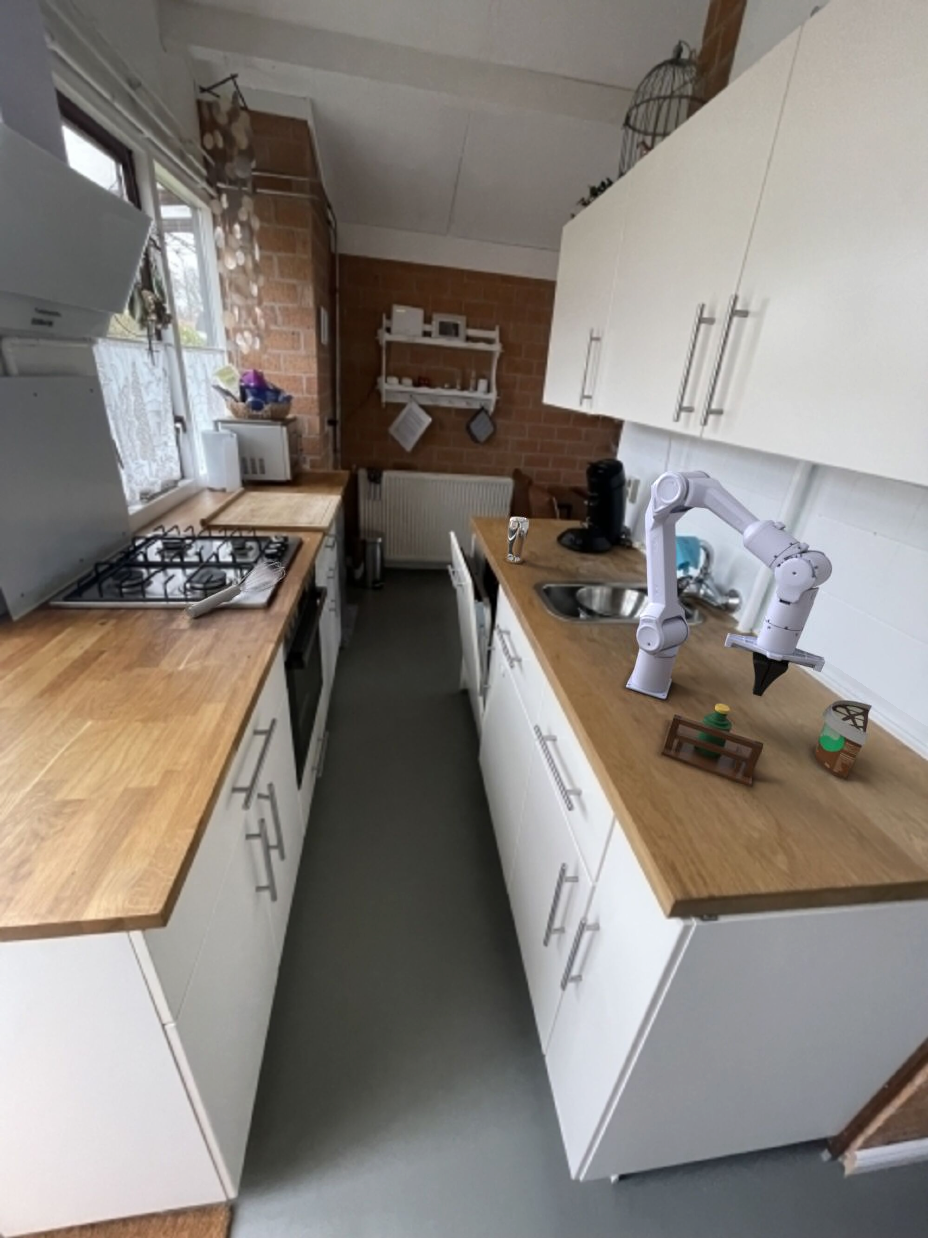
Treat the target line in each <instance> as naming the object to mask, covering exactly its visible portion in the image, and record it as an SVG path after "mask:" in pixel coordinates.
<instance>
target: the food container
mask: <svg viewBox="0 0 928 1238" xmlns="http://www.w3.org/2000/svg"><path fill="white" fill-rule="evenodd" d="M872 707H873V705H871V704H868V703H864V702H861V701H856V700H848V699H842V700H841V699H840V700H836V701H834V702H832V703H831V704H829V705H828V706H827V708H826V709H825V710H824V711H823V713H822V718H823V720H824V723H823V725H822V729H821V732H820V735H819V738H818V740H817V743H816V746H815V749H814V752H813V757H814V759H815V761H816V762H817V764H819V766H821V767H822V768H823V769H824V770H826V772H828V773H830V774H832V775H833V776H835V777H837V778H839V779H840V780H841V779H842V780H845V779H846V778H847V776H848V774H849V773H850V770H851V769H852V766H853V764H854V763H855V761H856V759H857V757H858V755H859V753H860V752H861V749H862V748H863V746H864V745H865V743H866V741H867V737H868V736H869V733H868V732H867V728H868V723H869V715H870V711H871V709H872Z"/></svg>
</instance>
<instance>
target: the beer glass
mask: <svg viewBox="0 0 928 1238" xmlns="http://www.w3.org/2000/svg"><path fill="white" fill-rule="evenodd" d="M529 523H530V519H529V518H527V517H523V516H510V517H509V520H508V525H507V535H506V536H507V538H506V539H507V552H506V556H505V560H504V561H505V562H507V563H509V564H522V563H523V553H524V548H525V545H526V542H527V538H528V533H529V525H530V524H529ZM512 560H513V561H512ZM520 560H521V561H520Z"/></svg>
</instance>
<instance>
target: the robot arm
mask: <svg viewBox="0 0 928 1238" xmlns="http://www.w3.org/2000/svg"><path fill="white" fill-rule="evenodd" d="M650 497H651V498H650V500H649V502H648V506H647V509H646V511H645V514H644V515H645V516H644V521H645V522H644V525H645V526H644V527H645V530H644V531H645V552H646V577H647V578H646V579H647V580H646V581H647V605H646V607H645V608H644V609H643V611H642V612H641V614H640V615H639V625H638V626H637V627H638V628H637V630H636V641H637V644H638V648H639V649H638V653H637V658H636V661H635V665H634V668H633V671H632V673H631V675H630V677H629V679H628V680H627V683H626V685H625V687H626V688H627V689H629V690H633V691H636V692H639V693H642V694H645V695H648V696H651V697H655V698H658V699H661V700H666V699H667V696H668V694H669V690H670V687H671V684H672V681H673V679H672V678H671V676H672V672H673V670H674V666H675V663H676V659H677V655H678V652H679V649H680V645H682V644H684V643H686V642H687V640H688V639H689V637H690V634H691V633H690V632H691V631H690V625H689V623H688V621H687V619H686V613H685V612H686V611H685V609H684V608H683V607H682V606H681V605H680V604H679V602H678V578H677V577H678V571H677V538H676V537H677V535H676V524H677V523H678V521H679V520H681V518H683V516H685V514H686V513H688V512H689V511H691V510H693V509H695V508H696V509H697V508H698V509H699V508H700V509H706V510H708V511H710V512H711V513H712V514H714V515H715V516H716V517H718V518H719V519H720V520H722V521H723V522H724V523H725V524H727V525H729V526H730V527H731V528H732V529H734V530H735V531H736V532H737V533H738V534H740V535H742V536H743V537H742V539H743V541H742V543H743V547H744V548H745V549H747V550H748V552H750V553H751V554H752V555H753V556H755V557H756V558H757V559H758V561H760V562H762V564H764V565H765V566H766V567H767V568H769V569H770V570H771V571H772V572H774V579H775V582H776V587H775V590H774V592H773V594H772V597H771V599H770V602H769V605H768V608H767V610H766V614H765V616H764V618H763V622H762V624H761V626H760V629H759V632H758V634H757V636H756V637H755V636H747V635H740V634H734V633H730V632H728V633H727V635H726V639H725V642H724V647H725V648H728V649H732V648H734V649H738V650H742V651H745V652H748V653H749V652H750V653H752V665H753V672H754V682H753V687H752V695H754V696H756V697H757V696H758V697H760V698H761V697H762V696H763V695H764V693H765V691H766V690H767V689H768V688H769V687H770V686H771V685H772V684H773V682H774V681H776V680H777V679H778V678H780V677H781V676H783V675H784V674H786V672H787V671H788V669H789V664H790V663H791V664H795V665H798V666H802V667H806V668H810V669H812V670H813V671H815V672H818V673H821V672H822V670H823V668H824V666H825V664H826V660H825V657H824V656H821V655H818V654H815V653H811V652H808V651H806V650H802V649H801V648H797V646H798V643H799V641H800V638H801V635H802V634H803V631H804V629H805V626H806V624H807V621H808V618H809V617H810V613H811V611H812V609H813V606H814V604H815V600H816V598H817V595H818V592H819V590H820V587H819V586H821V585H822V584H824V583H826V582H827V581H828V580H829V579H830V577H831V575H832V573H833V565H832V562H831V560H830V559H829V557H828V556H827V555H826V553H825V552H823V551H821V550H817V549H809V548H810V544H808V543H807V542H806V541H804V542H801V541H799V539H797V538H795V536H793V535H792V534H791V533H790V532H788V531H787V530H785V529H786V527H787V525H786V524H785V523H783V521H774V520H772V519H765V520H760V519H759V518H758V517H757V516H756V515H755V514H754V513H752V511H750V510H749V509H748V508H747V507H746V506H744V504H742V503H741V502H740V501H739V500H738V499H737V498H736V497H735V496H734V495H732V494H731V493H730V492H729V491H728V490H727V489H726V488H725V487H724V486H723V485H722V483H721V482H720V481H719V480H718V479H717V478H714V477H711V475H710V474H709V473H708V472H706V471H705V470H699V469H698V470H692V471H690V470H689V471H676V470H669V471H666V472H664V473H662V474H661V475H660V476H659V477H658V478H657V479H656V480H655V481H654V482H653V483H652V484H651V486H650Z"/></svg>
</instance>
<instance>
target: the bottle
mask: <svg viewBox="0 0 928 1238" xmlns="http://www.w3.org/2000/svg"><path fill="white" fill-rule="evenodd" d="M730 711H731V708H730V707H729V706H727V705H726V704H724V703H716V704H715V706H714V711H713V712H711V713H707V714H704V716H703V719H702V721H701V723H702V724H705V725H708V726H711V727H715V728H718V729H721V730H724V731H727V732H730V733H731V730H732V728H733V724H732V722H731V721H730V720H729V719H728V718H727V717H728V714H730ZM697 738H698V739H701V740H704V741H707V742H710V743H713V744H716V745H719V746H722V747H724V746H725V744H726V741H727V740H725V739H722V738H719V737H716V736H713V735H710V734H707V733H704V732H701V731H699V733H698V736H697ZM695 748H696V749H697V750H698V751H699V752H700V753H701V754H703V755H705V756H708V757H713V758H716V757H720V756H721V754H718V753H715V752H712V751H709V750H706V749H703V748H701V747H698V746H695Z"/></svg>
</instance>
